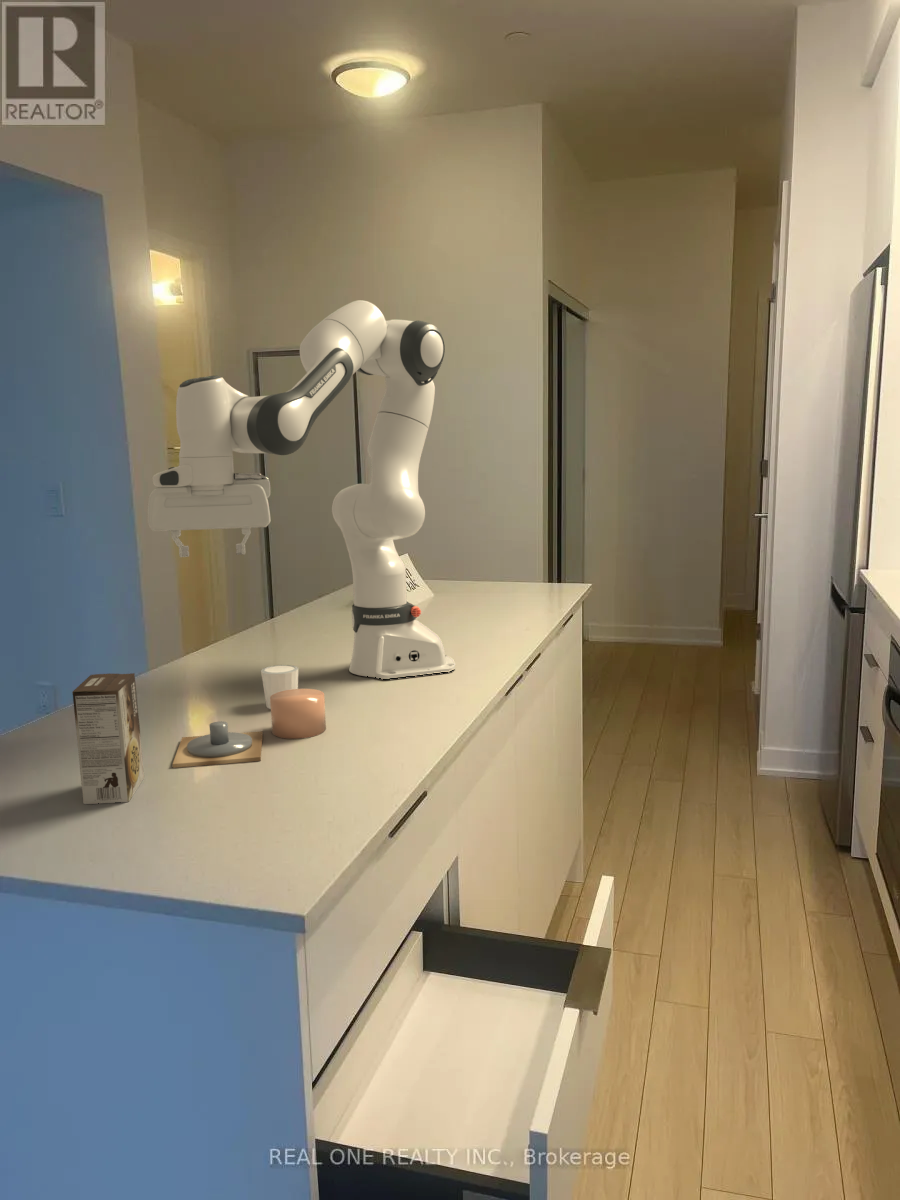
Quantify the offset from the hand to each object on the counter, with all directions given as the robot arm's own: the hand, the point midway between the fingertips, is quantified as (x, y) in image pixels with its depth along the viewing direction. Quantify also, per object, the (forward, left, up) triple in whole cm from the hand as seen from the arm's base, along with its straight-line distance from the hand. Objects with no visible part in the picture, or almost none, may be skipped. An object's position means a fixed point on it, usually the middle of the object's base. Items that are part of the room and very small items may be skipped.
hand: (212, 555), depth 158 cm
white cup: (-10, -6, -29) cm, 32 cm away
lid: (-1, +18, -28) cm, 33 cm away
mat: (-1, +18, -29) cm, 34 cm away
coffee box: (+13, +32, -29) cm, 45 cm away
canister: (-13, +10, -29) cm, 33 cm away
